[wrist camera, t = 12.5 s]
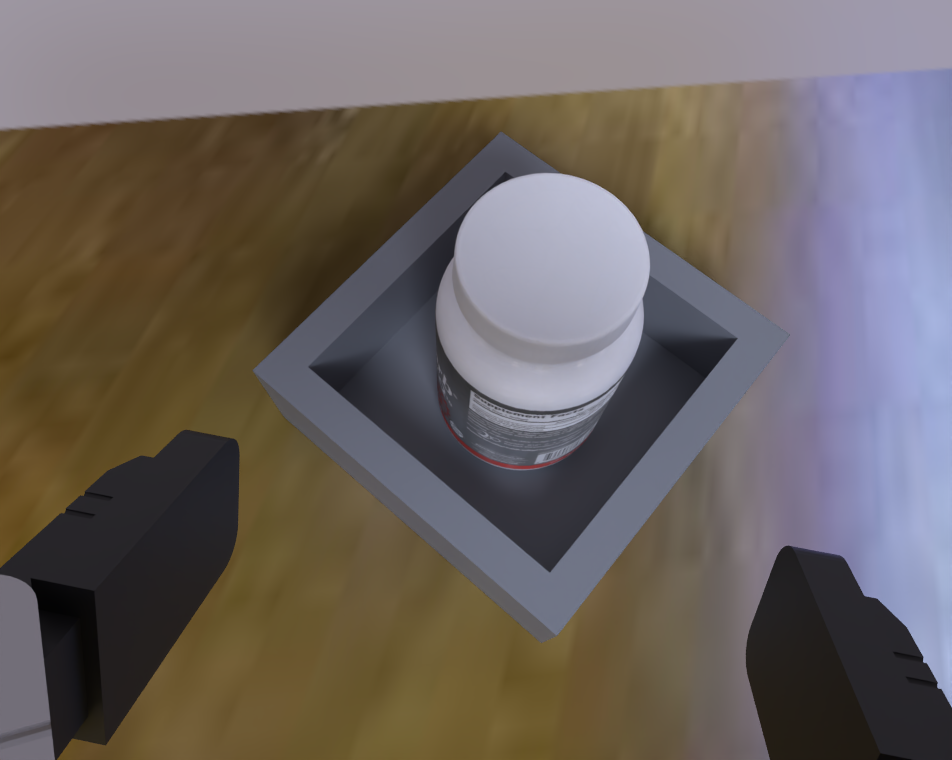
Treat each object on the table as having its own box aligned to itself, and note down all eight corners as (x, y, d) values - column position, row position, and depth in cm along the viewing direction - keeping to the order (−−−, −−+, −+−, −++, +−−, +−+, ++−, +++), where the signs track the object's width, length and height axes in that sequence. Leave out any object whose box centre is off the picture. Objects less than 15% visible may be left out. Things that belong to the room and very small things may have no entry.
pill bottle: (452, 312, 29) (455, 134, 19) (605, 336, 29) (681, 169, 19) (424, 461, 27) (412, 340, 17) (589, 488, 26) (666, 381, 17)
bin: (742, 384, 29) (790, 334, 25) (541, 642, 26) (556, 635, 21) (495, 204, 32) (501, 131, 27) (283, 416, 28) (252, 370, 24)
